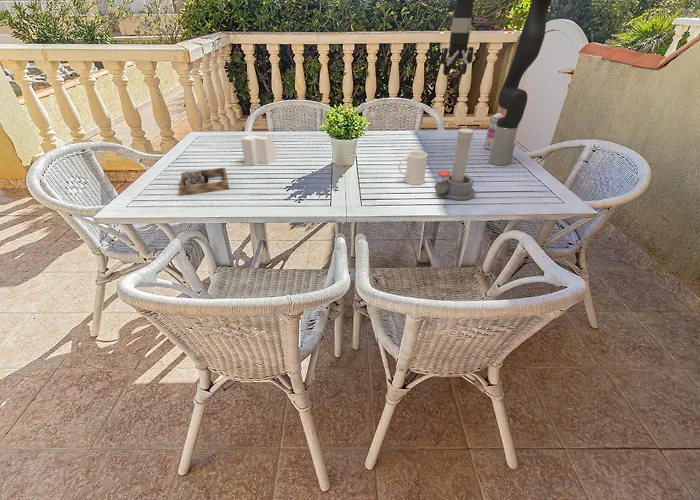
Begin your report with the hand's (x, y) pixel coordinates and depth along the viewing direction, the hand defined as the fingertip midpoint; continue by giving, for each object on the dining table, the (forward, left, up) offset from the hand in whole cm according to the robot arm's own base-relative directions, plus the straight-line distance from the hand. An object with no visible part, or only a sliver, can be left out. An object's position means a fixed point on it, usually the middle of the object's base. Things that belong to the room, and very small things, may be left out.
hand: (454, 74), depth 159 cm
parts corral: (+110, -7, -38) cm, 117 cm away
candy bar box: (-35, -8, -38) cm, 53 cm away
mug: (+26, +18, -38) cm, 50 cm away
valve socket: (+15, +35, -38) cm, 54 cm away
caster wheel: (+114, -8, -38) cm, 120 cm away
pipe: (+15, +35, -37) cm, 53 cm away
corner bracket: (+84, -27, -38) cm, 96 cm away
